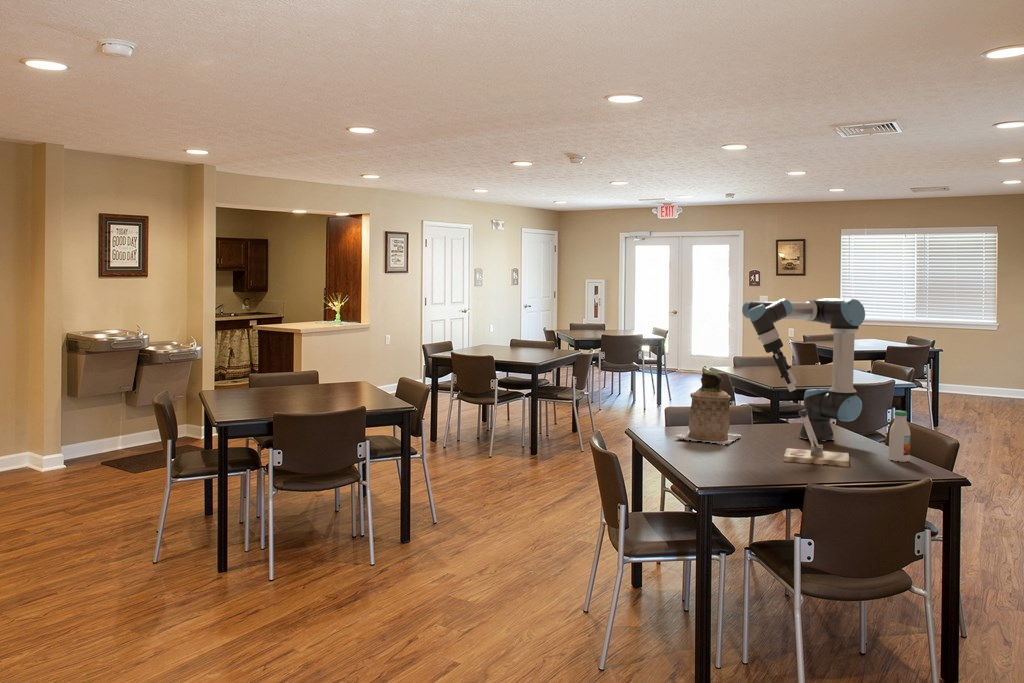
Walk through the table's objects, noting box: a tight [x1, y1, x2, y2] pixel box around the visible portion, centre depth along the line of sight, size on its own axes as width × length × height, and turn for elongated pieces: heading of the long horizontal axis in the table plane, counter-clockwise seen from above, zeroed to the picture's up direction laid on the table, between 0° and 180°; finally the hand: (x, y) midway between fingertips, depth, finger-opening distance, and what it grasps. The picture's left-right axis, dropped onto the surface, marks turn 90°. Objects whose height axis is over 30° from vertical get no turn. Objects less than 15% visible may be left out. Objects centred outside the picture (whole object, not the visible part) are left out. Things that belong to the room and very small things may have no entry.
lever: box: [798, 408, 820, 447], centre depth 327 cm, size 3×3×18 cm
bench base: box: [783, 444, 850, 468], centre depth 327 cm, size 24×18×6 cm
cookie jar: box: [675, 369, 742, 445], centre depth 368 cm, size 25×25×32 cm
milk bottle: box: [887, 410, 911, 463], centre depth 327 cm, size 8×8×20 cm
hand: (793, 387), depth 336 cm, fingers open, 13 cm apart
